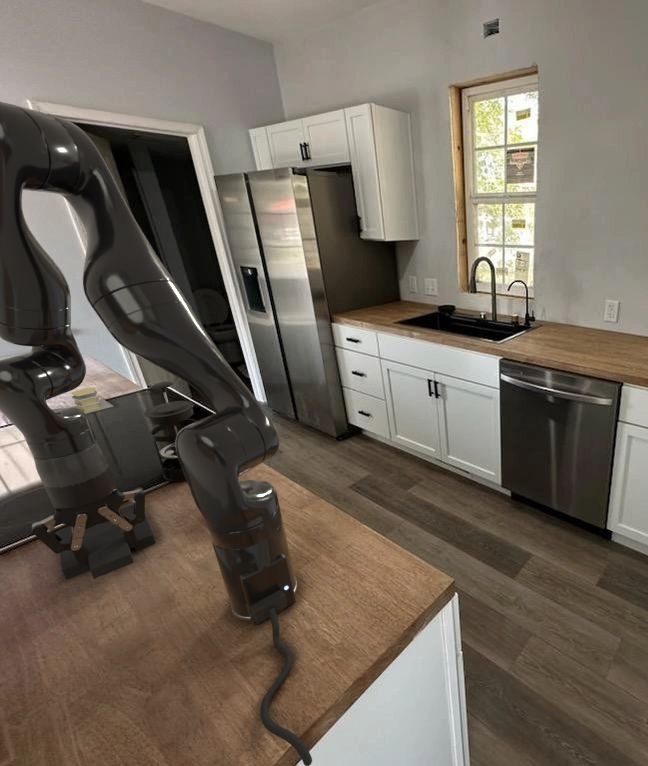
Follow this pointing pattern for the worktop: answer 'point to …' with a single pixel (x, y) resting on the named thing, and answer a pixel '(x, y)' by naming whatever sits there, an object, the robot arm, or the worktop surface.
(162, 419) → the french press
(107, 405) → the stacked layers on plate
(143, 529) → the charcoal u-shaped block
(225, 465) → the robot arm
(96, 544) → the black pad
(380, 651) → the worktop surface
